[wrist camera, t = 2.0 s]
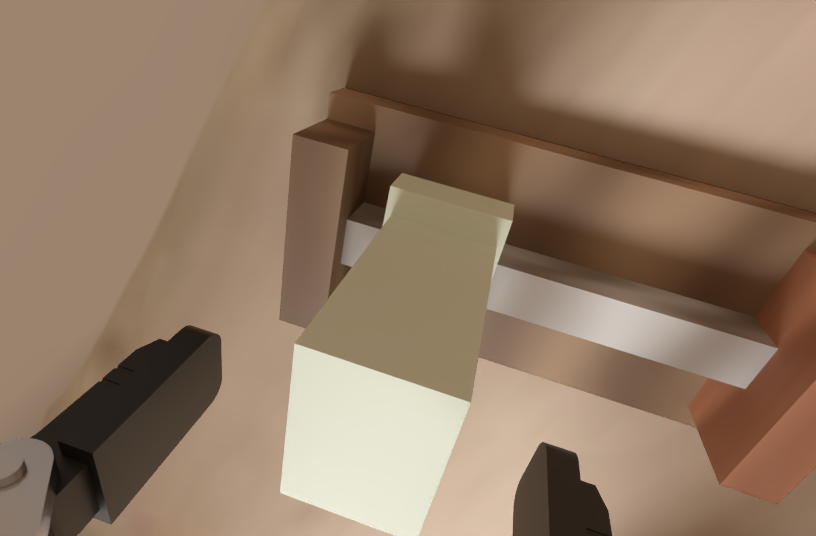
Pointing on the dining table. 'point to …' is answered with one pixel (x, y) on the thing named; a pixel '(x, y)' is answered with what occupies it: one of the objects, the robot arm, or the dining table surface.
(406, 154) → the track
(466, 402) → the slider
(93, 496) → the robot arm
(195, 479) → the dining table surface
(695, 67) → the dining table surface
